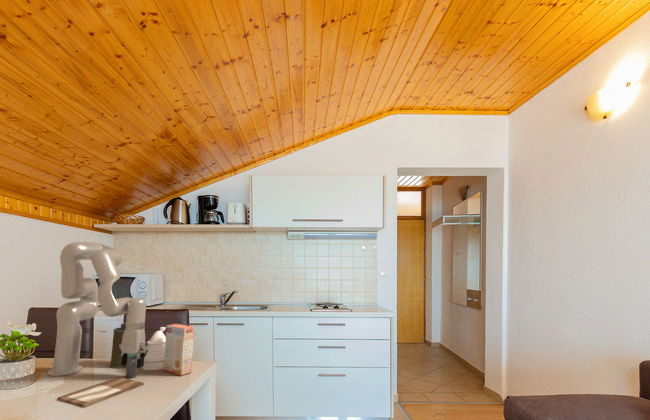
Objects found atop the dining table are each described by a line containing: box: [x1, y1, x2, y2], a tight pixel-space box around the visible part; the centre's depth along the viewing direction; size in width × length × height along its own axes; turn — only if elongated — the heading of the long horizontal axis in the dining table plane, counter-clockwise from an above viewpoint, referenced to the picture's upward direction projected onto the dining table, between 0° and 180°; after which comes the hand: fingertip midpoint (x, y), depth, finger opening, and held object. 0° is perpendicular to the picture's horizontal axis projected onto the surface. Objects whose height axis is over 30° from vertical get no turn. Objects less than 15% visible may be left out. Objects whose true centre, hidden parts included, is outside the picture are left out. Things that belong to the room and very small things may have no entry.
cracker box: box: [162, 323, 195, 376], centre depth 161 cm, size 14×6×21 cm, turn 58°
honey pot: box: [141, 326, 167, 371], centre depth 168 cm, size 13×13×18 cm
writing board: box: [56, 376, 145, 409], centre depth 135 cm, size 16×24×1 cm, turn 157°
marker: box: [125, 354, 138, 380], centre depth 152 cm, size 4×4×12 cm
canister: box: [109, 322, 127, 369], centre depth 169 cm, size 11×10×20 cm
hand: (132, 366), depth 152 cm, fingers open, 9 cm apart
